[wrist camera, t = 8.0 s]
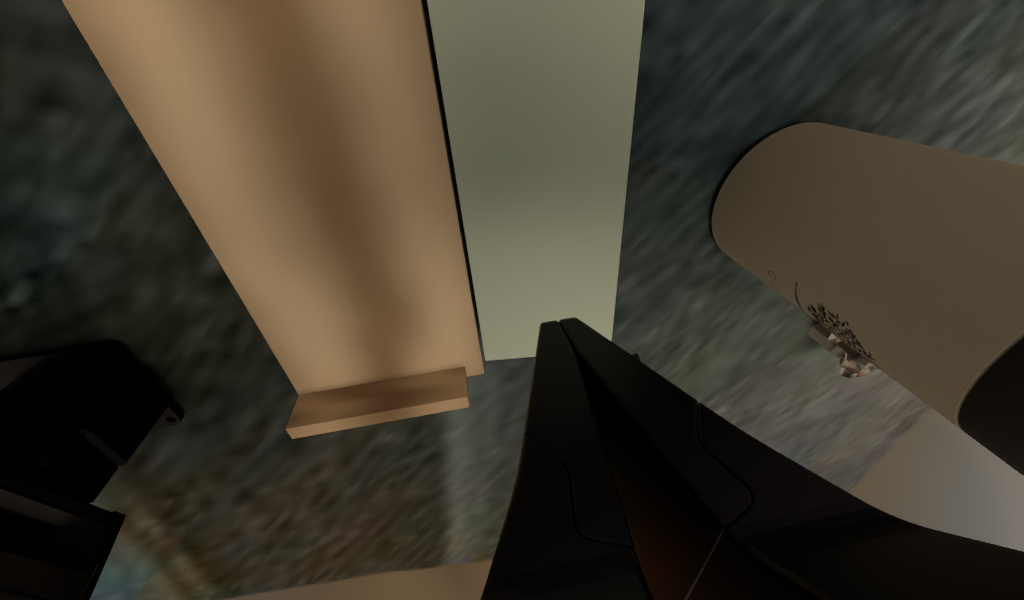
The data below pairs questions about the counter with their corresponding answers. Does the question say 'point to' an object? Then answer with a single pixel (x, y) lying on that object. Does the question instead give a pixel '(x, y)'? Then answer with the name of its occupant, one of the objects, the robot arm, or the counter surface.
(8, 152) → the counter surface
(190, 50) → the cart bed
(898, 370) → the travel mug
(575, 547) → the robot arm
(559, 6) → the panel
